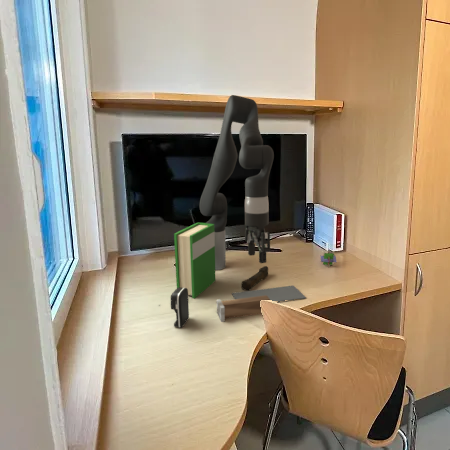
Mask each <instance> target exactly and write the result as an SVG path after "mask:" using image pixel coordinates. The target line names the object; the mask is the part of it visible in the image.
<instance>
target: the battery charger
mask: <svg viewBox="0 0 450 450" xmlns="http://www.w3.org/2000/svg"><path fill="white" fill-rule="evenodd" d="M170 309H171V310H173V311H174V312H175V315H176V318H175V319H176V320H175V321H174V323H173V326H174V327H175V328H183V327H184V326H185V324H186V323H187V321H188V320H189V319H190V316H189V315H190V312H189V310H190V309H189V295H188V289H187V288H177V287H176V289H175V290H174V291H173V292H172V293H171V295H170Z"/></svg>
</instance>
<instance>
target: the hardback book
mask: <svg viewBox="0 0 450 450" xmlns="http://www.w3.org/2000/svg"><path fill="white" fill-rule="evenodd" d="M173 239H174V241H173V242H174V259H175V261H174V262H175V275H176V276H175V277H176V279H175V281H176V282H175V283H176V289H177V288H187V289H188V296H192V297H191V299H196V298H197V297H198V296H200V295H201V294H202V293H203V292H204V291H205V290H206V289H208V288H209V287H211V285H212V284H213V283H215V282H216V270H215V235H214V224H208V223H206V222H196V223H194V224H192V225H190V226H186V227H185V228H183V229H181V230H179V231H177V232H175V233H173Z"/></svg>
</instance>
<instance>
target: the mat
mask: <svg viewBox="0 0 450 450" xmlns="http://www.w3.org/2000/svg"><path fill="white" fill-rule="evenodd" d="M231 295H232V297H233V299H242V298H250V297H257V296H265V295H267V296H268V298H269V299H270V300H272V301H278V303H281V302H280V301H285V300H293V301H295V300H294V299H300V300H306V299H307V297H306V296H305V295H304V294H303V293H302V292H301V291H300V290H299V289H298V288H297V287H296V286H295V285H287V286H278V287H269V288H263V289H253V290H252V289H251V290H249V291H246V290H244V291H236V292H232V293H231ZM305 298H306V299H305Z"/></svg>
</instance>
